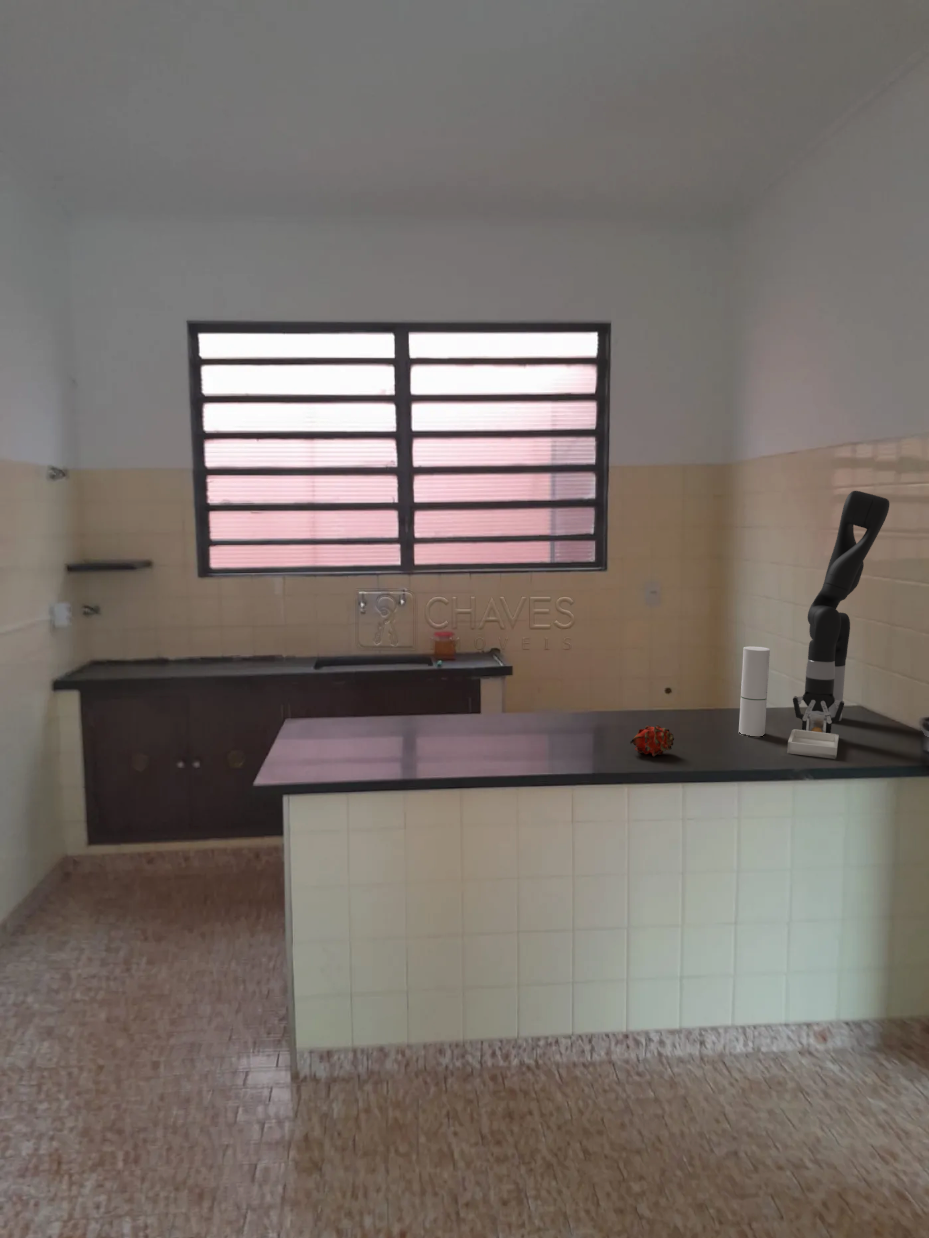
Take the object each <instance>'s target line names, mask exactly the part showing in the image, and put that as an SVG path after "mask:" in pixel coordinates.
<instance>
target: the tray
mask: <svg viewBox="0 0 929 1238" xmlns="http://www.w3.org/2000/svg"><path fill="white" fill-rule="evenodd" d="M839 736H840V735H839V733H832V732H831V733H822V732H813V731H805V730H802V729H794V728H793V729H791V733H790V735H789V738H788V741H787V750H786V751H787V752H786V754H793V755H801V756H809V757H815V758H823V759H832V760H837V756H838V755H837V754H838V746H839Z"/></svg>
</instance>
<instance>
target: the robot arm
mask: <svg viewBox="0 0 929 1238" xmlns="http://www.w3.org/2000/svg"><path fill="white" fill-rule="evenodd" d="M889 510H890V500H889V499H888V498H885V497H883V496H880V495H876V494H871V493H868V492H864V491H861V490H860V491H859V490H852V491H851V492H849V493H848V495H847V497H846V499H845V501H844V504H843V507H842V511H841V516H840V520H839V524H838V525H839V526H838V530H837V535H836V539H835V543H834V547H833V550H832V553H831V556H830V559H829V562H828V565H827V569H826V572H825V577H824V581H823V584H822V588H820V589H821V590H820V591H819V592H818V593H817V595H816V596H815V599H814V600H813V601H812V604H811V605H810V607H809V610H808V612H807V621H808V623H809V632H808V633H809V636H810V638H811V640H810V642H809V643H808V655H807V663H806V669H805V680H804V681H805V682H804V694H803V695H802V696H796V695H794V696H793V698H792V702H793V708H794V713H795V718H797V719H799V720H801V721H802V724H801V730H805V731H806V726H807V717H808V716H809V715H810V713H812V714H822V715H825V717H826V719H827V723H826V733H831V734H832V724H834V723H838V722H841V721H842V714H843V711H844V708H845V701H844V692H845V675H846V660H847V657H848V650H849V649H848V647H849V640H850V633H851V620H850V617H849V615H848V614H847V613H846V612H839V611H838V610H837V608H838V606H839V605H840V603H841V602H842V601H845V600H846V599H847V597H848V596H849V595H850V594H851V593H852V592H853V591H855V589H856V588H857V587H858V585H859V583H860V580H861V576H862V574H863V570H864V561H865V558H866V557H867V555H868V553H869V552H870V550H871V548H872V546H873V544H874V542H875V540H876V538H878V535H879V533H880V531H881V529H882V528H883V525H884V523H885V522H886V518H887V516H888V513H889ZM854 526H856V527H859V528H863V529H866V530H865V532H864V534H863V536H862V537H861V538H860V540H859V541H858V542H857V540H856V537H855V532H854V529H855V528H854ZM802 701H803V702H804V704H805V705H806V706H807V708H806V710H805V712H804V714H803V713H801V707H800V705H801V704H802Z"/></svg>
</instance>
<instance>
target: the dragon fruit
mask: <svg viewBox="0 0 929 1238" xmlns="http://www.w3.org/2000/svg"><path fill="white" fill-rule="evenodd" d="M674 741H675V738H674V733H672V732H671V731H670V729H669V728H666V727H661V726H660V725H659V724H656V726H652V725H651V726H650V725H645V727H644V728H640V729H638V731H637V733H636V735H635V736H634V737H633V738H632V739H631V741H629V743H630V745H632V744H633V745H634V746H635V747H634V751H635V752H636V751H637V754H643V755H649V754H651V755H652V757H655V756H658V755H659V756H662V755H663V753H664V752H666V751H670V750H672V746H674Z"/></svg>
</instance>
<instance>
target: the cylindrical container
mask: <svg viewBox="0 0 929 1238" xmlns="http://www.w3.org/2000/svg"><path fill="white" fill-rule="evenodd" d="M742 649H743V651H742V667H741V668H742V669H741V670H742V671H741V684H740V685H741V688H740V705H739V706H740V707H739V724H738V733H739V732H740V733H741V734H746V735H750V736H763V735H764V734H765V733H766V722H767V721H766V720H767V719H766V718H767V717H766V716H767V703H768V702H767V701H768V689H769V688H768V685H769V670H770V669H769V668H770V656H771V655H770V652H771V649H770V648H769V647H764V646H753V645H751V646H748V645H747V646H744V647H743V648H742ZM741 734H740V735H741ZM763 737H764V736H763Z"/></svg>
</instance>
